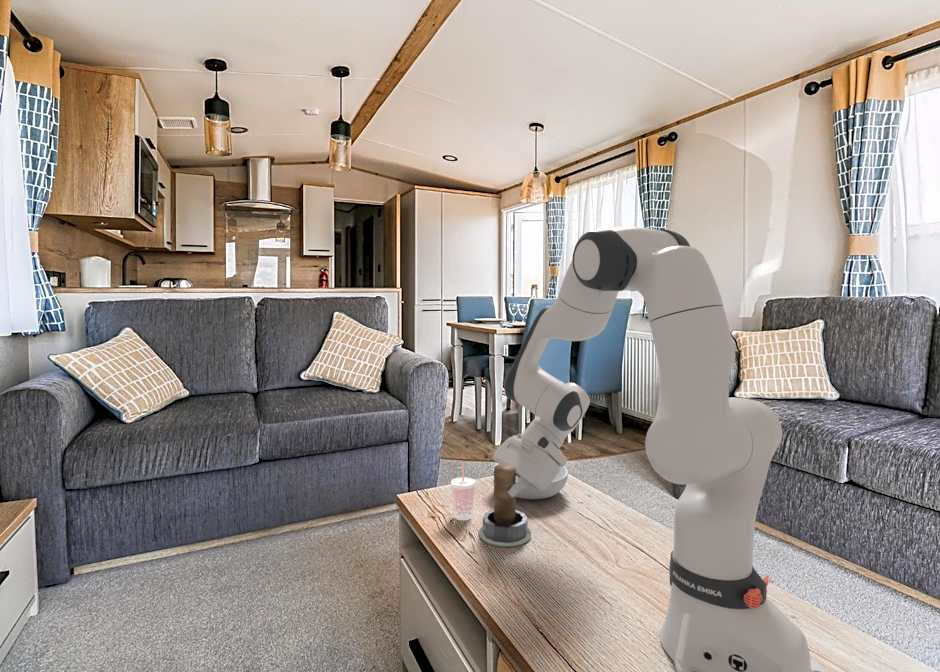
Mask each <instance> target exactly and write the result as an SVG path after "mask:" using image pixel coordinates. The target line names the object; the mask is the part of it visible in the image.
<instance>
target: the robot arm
mask: <svg viewBox="0 0 940 672" xmlns="http://www.w3.org/2000/svg"><path fill="white" fill-rule="evenodd" d="M623 291H630V292H638V293H640V295H641V296H642V298H643V301H644V303H645V309H646V311H647V312H646V313H647V318H648V322H649V326H650V330H651V336H652V341H653V345H654V349H655V355H656V359H657V365H658V377H659V384H658V385H659V388H658V399H657V400H658V401H657V408H656V413H655V417H654V418H653V421H652V423H651V425H650V427H649V428H648V430H647V432H646V436H645V439H644V440H645V444H644V445H645V452H646V456H647V458H648V459H647V460H648V461H649V463H650V465H651V467H652V468H653V469H654V472H656V473H657V474H658V475H659V476H660V477H661V478H663V479H664V480H665V481H668V482H669V483H672V484H676V485H683V486H684V485H686V486H685V487H684V490H683V492H682V493H681V495H680V496H679V497H678V499H677V502H676V504H675V507H674V518H673V519H674V522H673V525H674V526H673V550H672V551H671V553H670V560H669V573H668V574H669V585H670V587H671V588H670V594H669V601H668V605H667V606H668V607H667V611H666V616H665V619H664V622H663V625H662V628H661V631H660V634H659V638H660V639H659V640H660V644H661V645H662V647H663V649H664V651H665V653H667V655H668V656H669V658H671V660H672V661H673V663H674V667H675V668H674V669H675V671H676V672H826V669H825V668H824V667H823V665H822V664H820V663H819V662H817V661H816V660H814V659H813V658H811V656H810V655H811V653H810V648H809V644H808V641H807V638H806V636H805V634H804V632H803V631H802V630H801V628H800V627H799V626H797V624H795V623H794V622H793V621H792V620H791V619H790V618H789V617H788V616H787V615H785V613H783V611H782V610H780V608H778V606H776V604H774V602H772V601H771V600H770V598H768V597H767V592H768V589H767V586H768V585H769V581H770V580H769V579H770V575H769V574H766V575H765V576H764V578H762V577H761V575H760V574H759V572H757V570H756V569H755V567H754V564H753V563H754V561H753V560H754V541H755V526H756V519H757V512H758V509H759V508H758V507H759V505H760V500H761V497H762V495H763V490H764V486H765V483H766V479H767V475H768V471H769V468H770V464H771V462H772V458H773V457H774V454H775V453H776V451H777V449H778V448H779V446H780V445H781V441H782V437H783V428H782V423H781V421H780V419H779V417H778V416H777V414H776V413H775V411H774V410H773V409H771V407H770V406H768V405H767V404H765V403H763V402H761V401H758V400H755V399H751V398H750V399H749V398H744V397H729V396H730V395H729V393H730V390H729V389H730V388H729V386H730V374H731V371H732V367H733V365H734V363H735V362H736V349H735V346H734V345H735V344H734V342H733V337H732V334H731V330H730V327H729V326H730V325H729V323H728V320H727V319H728V318H727V315H726V311H725V308H724V307H725V306H724V303H723V300H722V297H721V293H720V289H719V288H718V284H717V282H716V280H715V277H714V274H713V272H712V270H711V268H710V266H709V264H708V262H707V260H706V258H705V256H704V255H703V253H702V252H701V251H700V250H698V249H697V248H695V247H692V246H691V245H690V243H689V241H688V240H687V238H686V237H684V236H683V235H681V233H678V232H675V231H673V230H669V229H664V228H661V229H660V228H659V229H654V228H646V227H639V226H622V227H613V228H612V227H611V228H609V227H600V228H596V229H593V230H590V231H587V232H585V233H583V234H582V235H581V236H580V237H579V238H578V240H577V242H576V243H575V246H574V249H573V253H572V259H571V262H570V264H569V266H568V268H567V270H566V271H565V275H564V277H563V281H562V283H561V286H560V290H559V292H558V295H557V298H556V300H555V301H554V303H553V304H552V305H546V306H545V307H543V308H542V309H541V310H540V311H539V313H538V314H537V316H535V318H534V319H533V321H532V324H531V326H530V327H529V330H528V332H527V335H526V336H525V338H524V341H523V343H522V345H521V346H520V349H519V351H518V353H517V356H516V358H515V359H514V362H513V363H512V365H511V366H510V368H509V369H508V371H507V372H506V374H505V376H504V378H503V388H504V393H505V397H506V398H507V399H508V400H510V401H512V402H513V403H515V404H518V405H520V406H521V407H523V408H524V409H526V410H527V411H529V412H530V413H532V414H534V415H535V416H536V417H535V418H534V419H533V420H532V421H531V422H530V423H529V425H527V427H526V428H525V430H524V431H523V432H522V433H517V434H514V435H512V436H509V437H508V438H507V439H506V440H505V441H504V442H502V444H500V446H499V447H498V448H497V449H496V450H495V451H494V453H493V455H492V459H493V460H494V461H495V463H496V464H497V463H498V464H509V465H511V466H512V467H514V468H515V473H516V476H517V477H519V478H518V480H517V481H518V482H517V483H515V484H514V485H513V486H509V487H508V489H507V490H506V493H507V494H508V495H510V496H511V497H514V496H515V495H516V494H517V492H519V491H521V490H523V489H524V488H526V487H527V485H528V484H530V485H531V486H533V487H534V488H536V489H537V490H539V491H543V490H545V489H546V488H547V487H548V486H549V485H550V484H551V482H552V481H553V480H554V479H555V477H556V476H557V474H558V473H559V470H560V466H561V467H563V466H564V467H565V465H566V464H567V463H568V458H567V457H566V456H565V454H564V453H563V451H562V450H561V449H560V448H561V447H562V446H563V444H564V441H565V439H566V438H567V436H569V434H571V433H573V431H574V430H575V429H576V428H577V426H578V424H579V423H580V422H581V421H582V419H583V417H584V416H585V414H586V412H587V410H588V408H589V405H590V404H591V399H590V396H589V395H588V393H587V392H586V390H585V389H584V388H583V387H581V386H580V385H579V384H576V383H575V382H567V383H565V382H563V381H562V380H560V379H558V378H556V377H554V376H553V375H551V374H550V373H548V372H547V371H545V370H544V369H543V368H542V367H541V365H540V363H539V362H540V359H541V357H542V355H543V353H544V351H545V349H546V347H547V345H548V344H549V341H550V340H553V339H554V340H561V341H562V340H563V341H569V342H581V341H588V340H591V339H593V338H595V337H597V336H599V335H600V334H601V333H603V331H604V330H605V328H606V327H607V325H608V323H609V322H610V321H609V320H610V318H611V315H612V312H613V309H614V306H615V304H616V300H617V297H618V295H619V292H623ZM492 483H493V484H494V479H493V481H492Z"/></svg>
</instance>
